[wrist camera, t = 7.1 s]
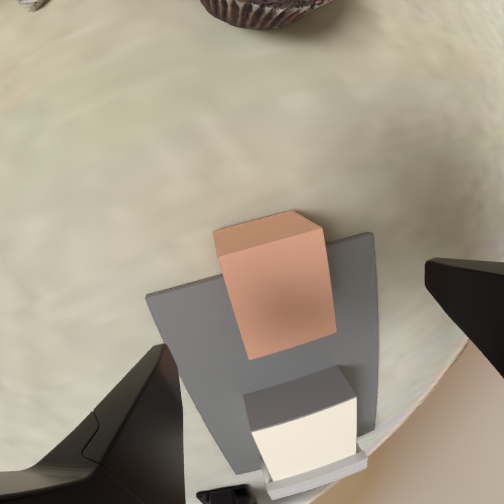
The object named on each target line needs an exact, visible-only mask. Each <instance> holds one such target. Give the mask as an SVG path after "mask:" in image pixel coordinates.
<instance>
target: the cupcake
mask: <svg viewBox="0 0 504 504" xmlns="http://www.w3.org/2000/svg"><path fill="white" fill-rule="evenodd" d="M200 1H201V3H202V4H203V6H204V7H205V8H206V10H207V11H208V12H209V13H210V14H211V15H213V16H214V17H215V18H218V19H220V20H222V21H225V22H227V23H229V24H230V25H233V26H237V27H244V28H247V29H276V28H280V27H282V26H284V25H287V24H290V23H292V22H294V21H296V20H297V19H299V18H301V17H302V16H304V15H306V14H307V13H309V12H311V11H313V10H315V9H317V8H319V7H321V6H323V5H325V4H327V3H329V2H331V0H200Z"/></svg>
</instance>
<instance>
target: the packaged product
mask: <svg viewBox="0 0 504 504" xmlns="http://www.w3.org/2000/svg"><path fill="white" fill-rule="evenodd" d="M16 1H17V2H18V3H19V4H21V5H22V6H23V7H24V8H25V9H26V10H27V11H29V12H35V11H36V10H37V9H38V8H39V7H40V6H41V5H42V4H43V3H44V2H45V1H46V0H16Z"/></svg>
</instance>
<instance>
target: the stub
mask: <svg viewBox="0 0 504 504" xmlns="http://www.w3.org/2000/svg"><path fill="white" fill-rule="evenodd" d="M213 235H214V240H215V246H216V251H217V256H218V260H219V264H220V267H221V270H222V274H223V277H224V281H225V284H226V287H227V291H228V294H229V297H230V301H231V304H232V307H233V311H234V314H235V317H236V320H237V324H238V327H239V330H240V333H241V337H242V340H243V343H244V346H245V349H246V352H247V356H248V359H249V360H252V359H256V358H259V357H263V356H266V355H269V354H273V353H276V352H279V351H282V350H286V349H289V348H292V347H295V346H298V345H301V344H304V343H307V342H310V341H313V340H316V339H319V338H322V337H325V336H328V335H330V334H333V333H336V332H337V330H336V321H335V312H334V304H333V296H332V288H331V281H330V273H329V266H328V260H327V253H326V247H325V240H324V234H323V228H322V227H320V226H318V225H317V224H315V223H313V222H311V221H310V220H308V219H306V218H305V217H303V216H301V215H299V214H298V213H296V212H294V211H292V210H291V211H287V212H283V213H279V214H275V215H271V216H268V217H264V218H260V219H256V220H253V221H249V222H245V223H241V224H238V225H234V226H230V227H227V228H223V229H220V230H216V231H213Z"/></svg>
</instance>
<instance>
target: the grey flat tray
mask: <svg viewBox="0 0 504 504" xmlns="http://www.w3.org/2000/svg"><path fill="white" fill-rule="evenodd" d="M325 247H326V253H327V260H328V266H329V273H330V281H331V288H332V296H333V304H334V312H335V321H336V330H337V332H336V333H333V334H330V335H328V336H325V337H322V338H319V339H316V340H313V341H310V342H307V343H304V344H301V345H298V346H295V347H292V348H289V349H286V350H282V351H279V352H276V353H273V354H269V355H266V356H263V357H259V358H256V359H252V360H249V359H248V356H247V352H246V349H245V346H244V343H243V340H242V337H241V333H240V330H239V327H238V324H237V320H236V317H235V314H234V311H233V307H232V304H231V301H230V297H229V294H228V291H227V287H226V284H225V281H224V277H223V274H220V275H216V276H213V277H209V278H206V279H202V280H198V281H195V282H191V283H188V284H184V285H180V286H177V287H173V288H169V289H166V290H162V291H158V292H155V293H151V294H147V295H146V297H145V300H146V302H147V305H148V307H149V309H150V312H151V314H152V317H153V319H154V321H155V324H156V326H157V328H158V330H159V333H160V335H161V337H162V339H163V342H164V343H165V344H167V346H168V347H169V349H170V351H171V354H172V356H173V358H174V360H175V362H176V364H177V367H178V373H179V375H180V377H181V379H182V381H183V383H184V385H185V387H186V389H187V391H188V393H189V395H190V397H191V399H192V400H193V402H194V404H195V406H196V408H197V410H198V412H199V413H200V415H201V417H202V419H203V421H204V422H205V424H206V426H207V428H208V429H209V431H210V433H211V435H212V436H213V438H214V440H215V441H216V443H217V445H218V446H219V448H220V450H221V451H222V453H223V455H224V456H225V458H226V459H227V461H228V463H229V464H230V466H231V467H232V469H233V470H234V472H235V474H236V475H238V474H243V473H247V472H252V471H256V470H260V469H262V472H263V476H264V480H265V485H266V489H267V492H268V494H269V496H270V497H271V499H272V500H275V499H279V498H283V497H286V496H290V495H293V494H297V493H300V492H304V491H307V490H310V489H313V488H316V487H319V486H322V485H325V484H328V483H330V482H333V481H336V480H339V479H341V478H344V477H346V476H349V475H351V474H354V473H356V472H359V471H361V470H363V469H365V468H367V459H368V457H367V455H366V454H365V452H364V450H363V451H362V450H361V449H360V447H359V445H358V443H357V441H356V438H357V437H359V436H361V435H364V434H366V433H368V432H370V431H373V430H374V428H375V417H376V403H377V383H378V301H377V281H376V266H375V253H374V242H373V234H372V233H370V232H366V233H363V234H359V235H356V236H353V237H349V238H346V239H342V240H339V241H336V242H332V243H329V244H325Z"/></svg>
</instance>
